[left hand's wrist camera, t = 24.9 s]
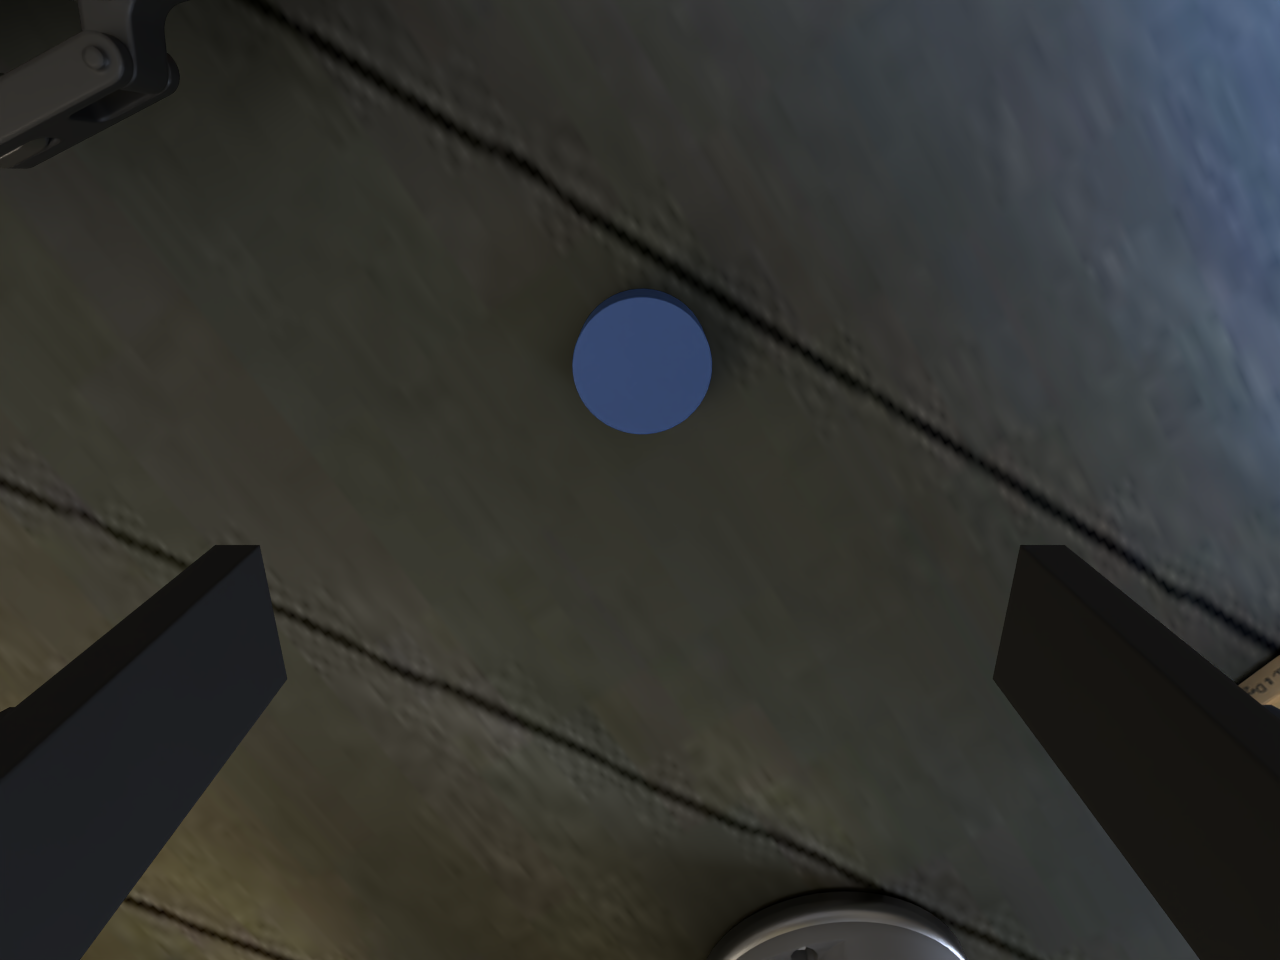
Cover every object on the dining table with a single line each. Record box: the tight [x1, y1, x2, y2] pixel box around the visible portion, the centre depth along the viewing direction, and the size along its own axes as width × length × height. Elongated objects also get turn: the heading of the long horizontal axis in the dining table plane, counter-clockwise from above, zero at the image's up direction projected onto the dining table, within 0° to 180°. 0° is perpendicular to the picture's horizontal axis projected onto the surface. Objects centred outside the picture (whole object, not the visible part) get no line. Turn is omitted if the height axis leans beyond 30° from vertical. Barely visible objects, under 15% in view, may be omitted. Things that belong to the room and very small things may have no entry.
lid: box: [572, 289, 712, 434], centre depth 27 cm, size 5×5×2 cm
